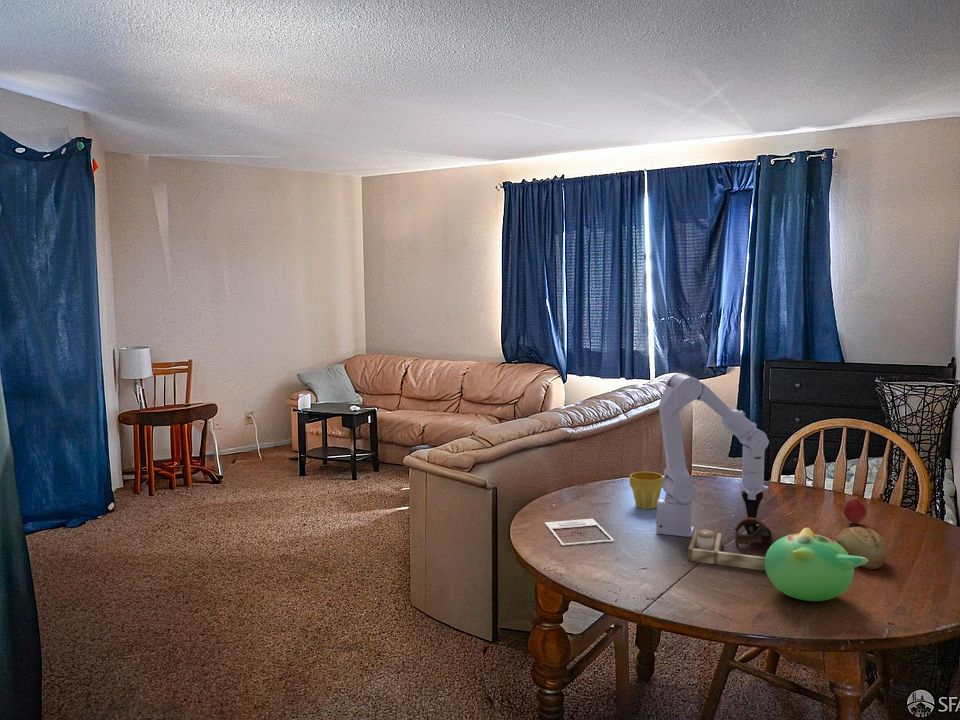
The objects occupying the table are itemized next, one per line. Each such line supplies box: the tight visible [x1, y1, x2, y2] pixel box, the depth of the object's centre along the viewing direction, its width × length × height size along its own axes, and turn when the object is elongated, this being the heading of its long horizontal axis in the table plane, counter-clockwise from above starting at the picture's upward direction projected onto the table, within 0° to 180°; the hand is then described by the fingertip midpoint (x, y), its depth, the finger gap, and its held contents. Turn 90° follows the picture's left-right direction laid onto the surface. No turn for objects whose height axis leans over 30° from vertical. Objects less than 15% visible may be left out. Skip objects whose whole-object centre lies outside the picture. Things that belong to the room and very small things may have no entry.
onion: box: [842, 496, 868, 525], centre depth 203 cm, size 6×6×8 cm
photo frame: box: [544, 518, 615, 545], centre depth 201 cm, size 15×1×18 cm
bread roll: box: [835, 526, 888, 570], centre depth 178 cm, size 10×15×8 cm, turn 1°
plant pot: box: [629, 471, 664, 510], centre depth 223 cm, size 10×10×10 cm
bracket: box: [687, 529, 766, 572], centre depth 182 cm, size 22×14×3 cm, turn 68°
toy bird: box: [764, 527, 868, 602], centre depth 157 cm, size 18×17×15 cm
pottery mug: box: [734, 516, 775, 546], centre depth 190 cm, size 12×10×8 cm
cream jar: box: [696, 529, 715, 551], centre depth 184 cm, size 4×4×6 cm
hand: (751, 517), depth 202 cm, fingers closed
